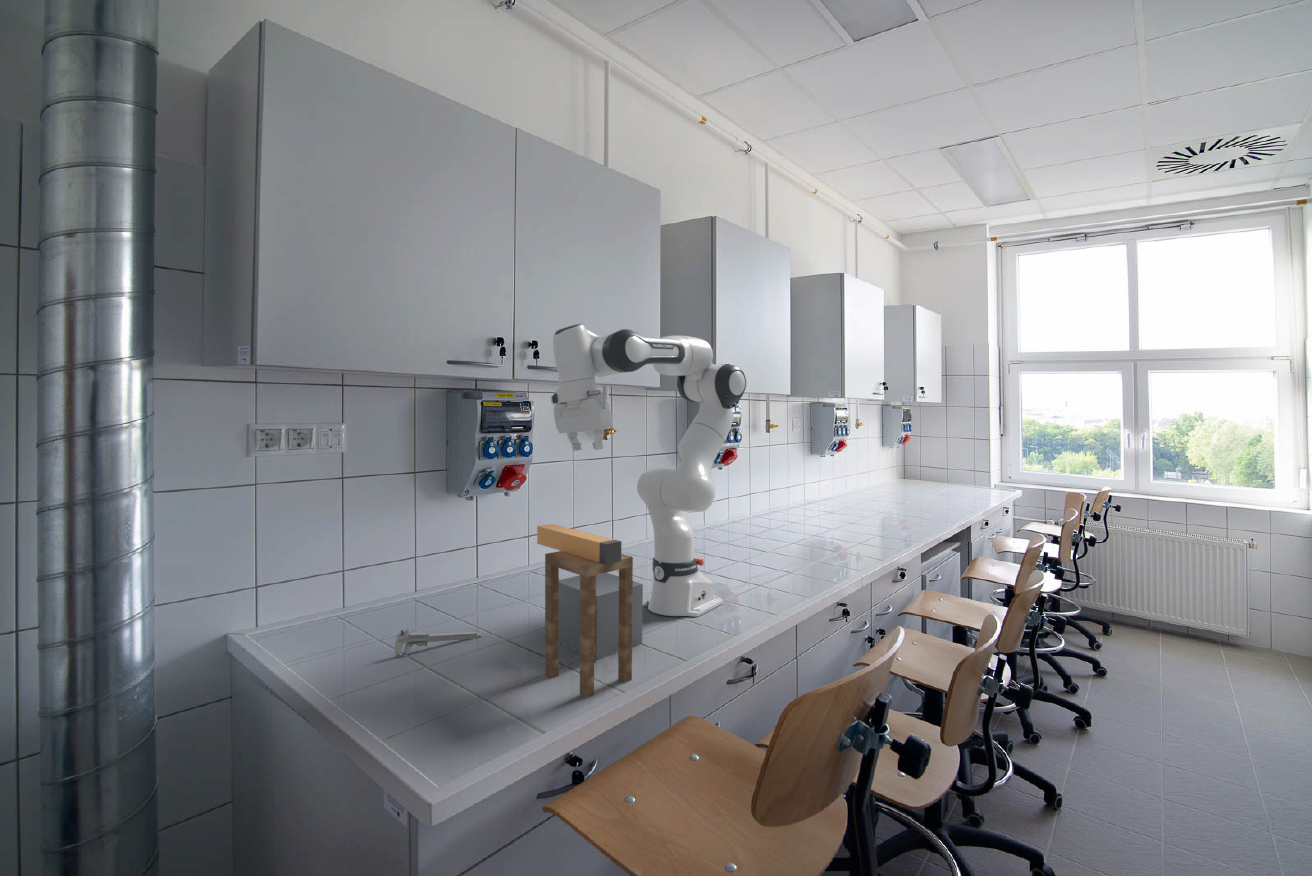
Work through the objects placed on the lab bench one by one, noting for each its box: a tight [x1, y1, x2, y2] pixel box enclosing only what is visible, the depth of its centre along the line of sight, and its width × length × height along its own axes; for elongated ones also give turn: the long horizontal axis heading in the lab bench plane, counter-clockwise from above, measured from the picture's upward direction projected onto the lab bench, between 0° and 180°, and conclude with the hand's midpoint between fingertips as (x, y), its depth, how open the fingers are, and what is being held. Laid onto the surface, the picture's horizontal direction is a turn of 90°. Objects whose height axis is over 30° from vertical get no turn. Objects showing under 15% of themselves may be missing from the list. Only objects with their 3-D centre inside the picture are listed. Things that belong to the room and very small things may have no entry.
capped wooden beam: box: [536, 523, 622, 564], centre depth 134 cm, size 4×24×4 cm, turn 44°
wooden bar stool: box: [544, 550, 634, 699], centre depth 132 cm, size 12×14×26 cm
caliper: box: [394, 629, 482, 658], centre depth 149 cm, size 20×1×6 cm, turn 132°
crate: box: [559, 572, 644, 661], centre depth 152 cm, size 14×16×14 cm
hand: (587, 449), depth 153 cm, fingers open, 8 cm apart
